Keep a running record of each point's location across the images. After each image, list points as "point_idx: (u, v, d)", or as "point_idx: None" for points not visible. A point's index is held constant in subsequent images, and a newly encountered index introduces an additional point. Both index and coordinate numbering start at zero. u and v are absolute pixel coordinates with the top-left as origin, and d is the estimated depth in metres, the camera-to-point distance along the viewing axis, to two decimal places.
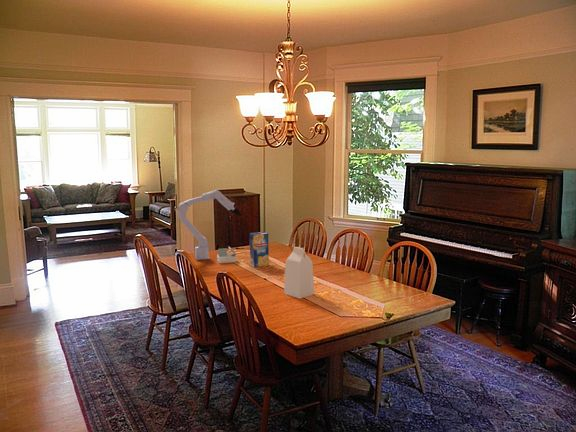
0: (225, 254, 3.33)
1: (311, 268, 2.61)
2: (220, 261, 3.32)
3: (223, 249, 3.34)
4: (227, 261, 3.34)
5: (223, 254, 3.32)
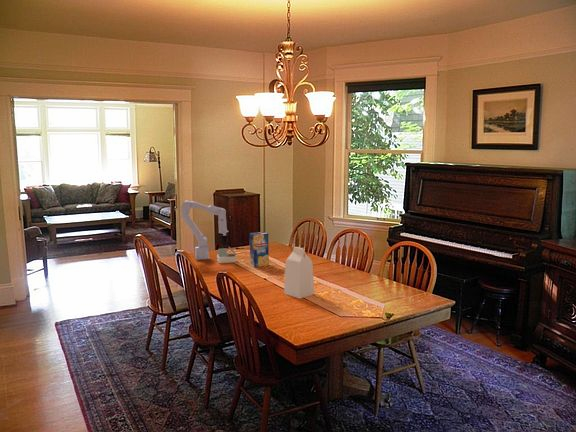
0: (225, 254, 3.33)
1: (311, 268, 2.61)
2: (220, 261, 3.32)
3: (223, 249, 3.34)
4: (227, 261, 3.34)
5: (223, 254, 3.32)
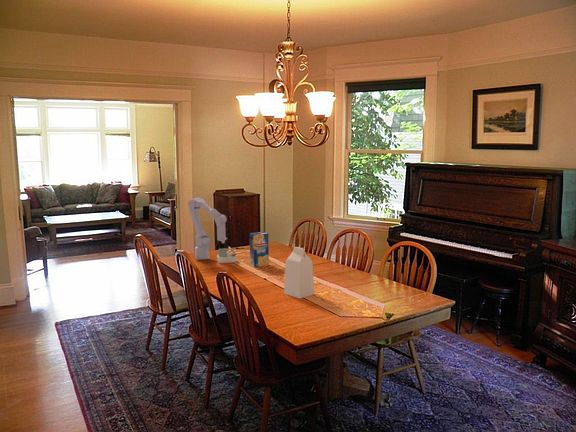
0: (225, 254, 3.33)
1: (311, 268, 2.61)
2: (220, 261, 3.32)
3: (223, 249, 3.34)
4: (227, 261, 3.34)
5: (223, 254, 3.32)
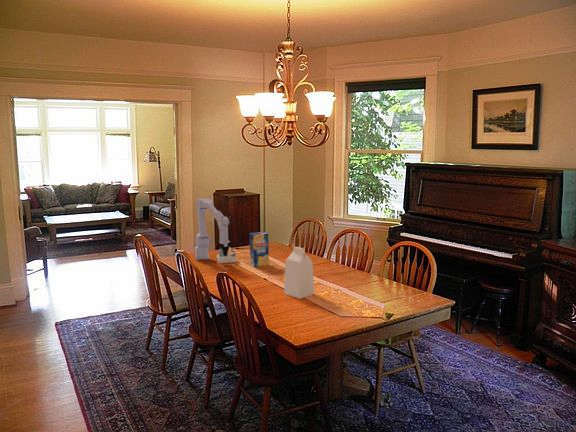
0: None
1: (311, 268, 2.61)
2: (220, 261, 3.32)
3: None
4: (227, 261, 3.34)
5: (223, 255, 3.31)
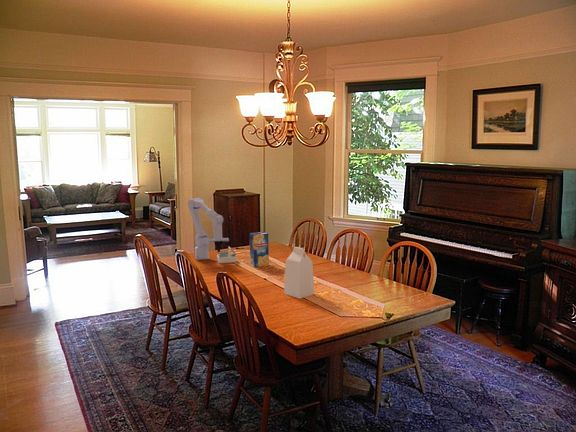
0: (225, 256, 3.31)
1: (311, 268, 2.61)
2: (220, 261, 3.32)
3: (225, 253, 3.28)
4: (227, 261, 3.34)
5: (224, 256, 3.31)
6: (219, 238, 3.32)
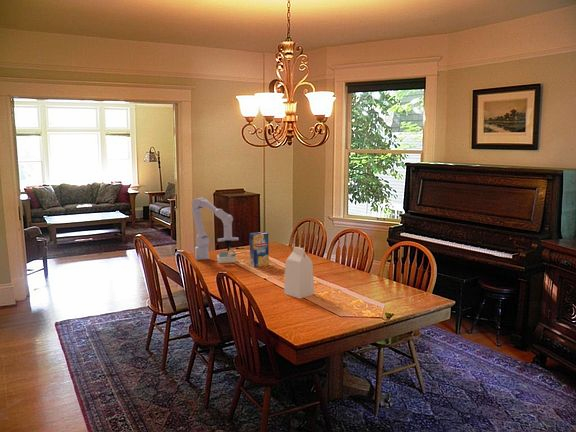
0: (225, 256, 3.31)
1: (311, 268, 2.61)
2: (220, 261, 3.32)
3: (225, 253, 3.28)
4: (227, 261, 3.34)
5: (224, 256, 3.31)
6: (229, 237, 3.33)
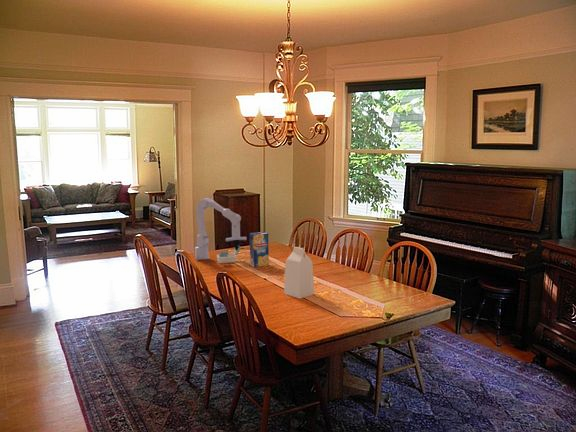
0: (225, 256, 3.31)
1: (311, 268, 2.61)
2: (220, 261, 3.32)
3: (225, 253, 3.28)
4: (227, 261, 3.34)
5: (224, 256, 3.31)
6: (237, 237, 3.35)
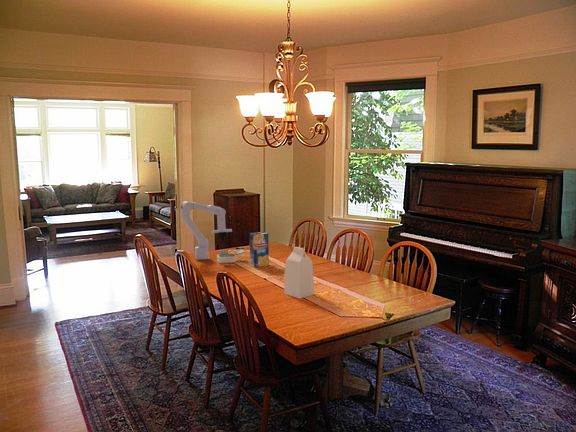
0: (225, 256, 3.31)
1: (311, 268, 2.61)
2: (220, 261, 3.32)
3: (225, 253, 3.28)
4: (227, 261, 3.34)
5: (224, 256, 3.31)
6: (222, 229, 3.48)
